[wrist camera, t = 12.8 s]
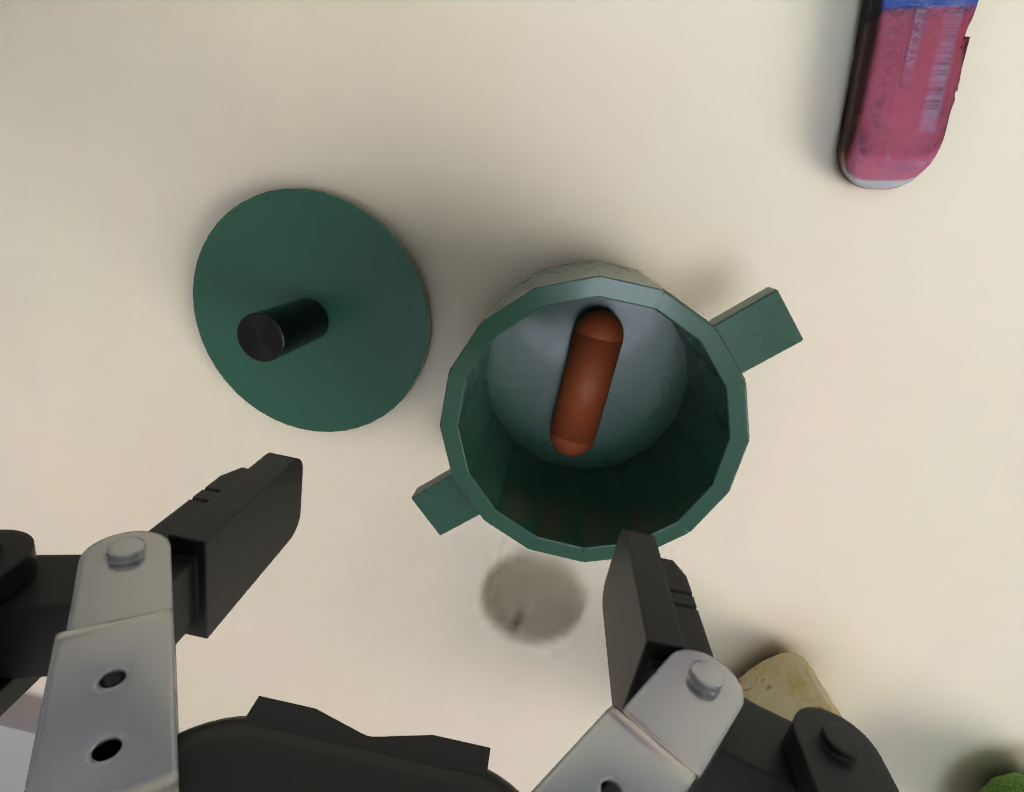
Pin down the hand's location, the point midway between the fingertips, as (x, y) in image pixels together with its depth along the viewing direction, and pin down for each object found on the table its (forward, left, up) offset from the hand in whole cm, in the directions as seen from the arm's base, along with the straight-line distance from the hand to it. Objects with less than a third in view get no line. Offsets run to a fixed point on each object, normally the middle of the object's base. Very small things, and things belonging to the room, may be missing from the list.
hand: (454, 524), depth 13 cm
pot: (+1, +4, -18) cm, 19 cm away
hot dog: (+1, +4, -18) cm, 18 cm away
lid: (+1, -12, -18) cm, 21 cm away
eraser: (-17, +14, -19) cm, 29 cm away
